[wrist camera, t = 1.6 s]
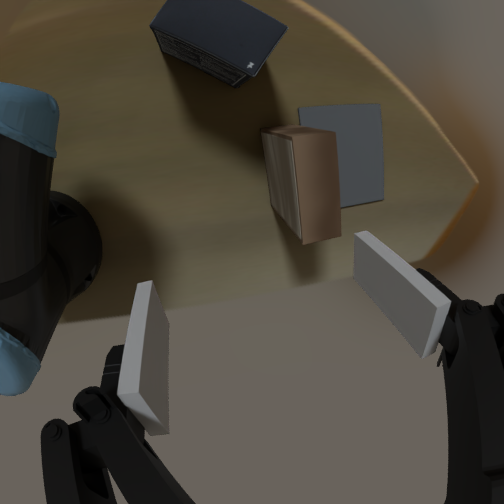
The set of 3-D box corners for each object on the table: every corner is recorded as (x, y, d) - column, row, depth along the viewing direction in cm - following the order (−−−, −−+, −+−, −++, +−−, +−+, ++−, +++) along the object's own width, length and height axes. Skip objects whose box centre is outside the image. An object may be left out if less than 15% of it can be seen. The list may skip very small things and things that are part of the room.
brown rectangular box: (270, 205, 38) (302, 244, 28) (259, 128, 34) (291, 136, 23) (300, 200, 39) (341, 236, 28) (291, 124, 34) (335, 131, 24)
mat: (308, 212, 40) (309, 213, 40) (297, 107, 33) (298, 107, 33) (382, 198, 41) (383, 199, 41) (378, 103, 35) (380, 104, 34)
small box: (265, 47, 29) (293, 26, 20) (237, 90, 31) (255, 81, 22) (188, 8, 25) (188, -28, 16) (158, 51, 27) (145, 27, 18)
